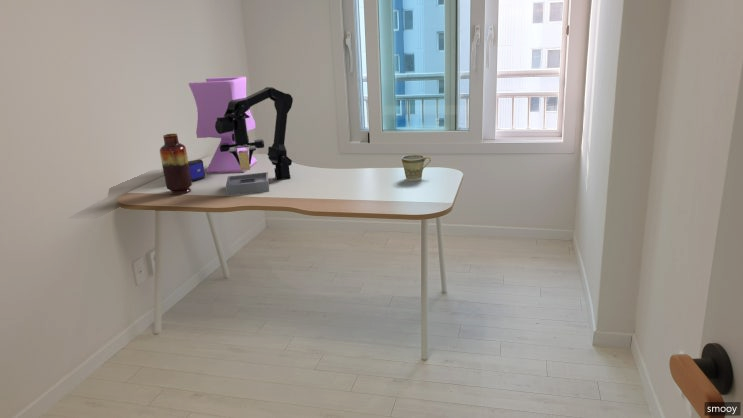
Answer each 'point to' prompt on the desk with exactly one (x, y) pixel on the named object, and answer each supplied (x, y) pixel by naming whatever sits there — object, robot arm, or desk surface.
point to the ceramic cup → (414, 166)
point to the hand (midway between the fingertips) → (245, 164)
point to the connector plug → (244, 160)
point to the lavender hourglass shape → (213, 105)
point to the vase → (175, 165)
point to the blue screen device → (196, 169)
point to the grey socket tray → (247, 183)
